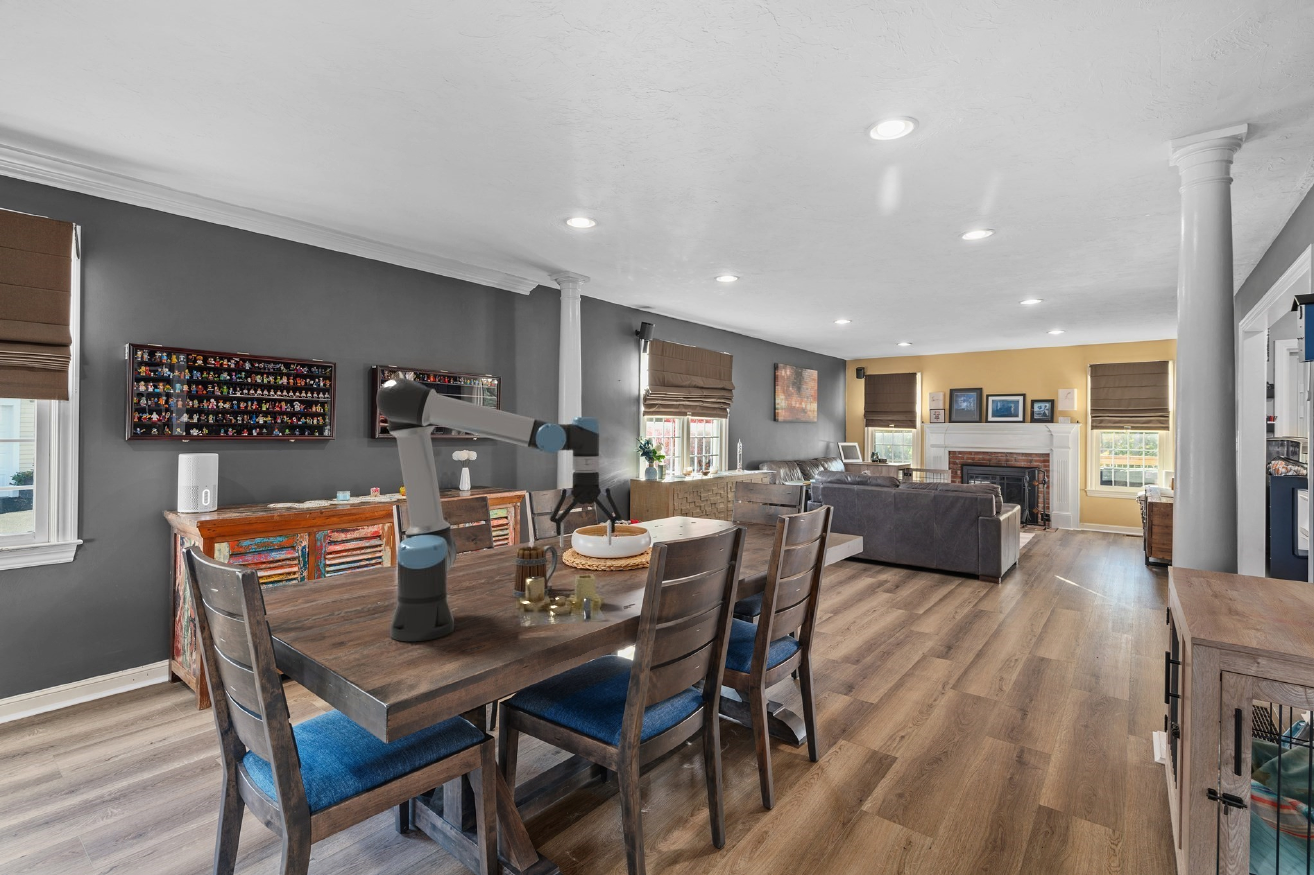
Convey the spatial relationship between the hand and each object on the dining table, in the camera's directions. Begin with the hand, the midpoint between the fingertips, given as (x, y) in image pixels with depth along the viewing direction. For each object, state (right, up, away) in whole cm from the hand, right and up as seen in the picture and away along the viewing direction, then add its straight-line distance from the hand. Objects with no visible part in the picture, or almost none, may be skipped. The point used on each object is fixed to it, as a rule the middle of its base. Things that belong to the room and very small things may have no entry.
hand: (585, 545), depth 175 cm
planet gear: (0, -17, 0) cm, 17 cm away
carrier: (-6, -18, -7) cm, 20 cm away
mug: (-16, -18, +13) cm, 28 cm away
